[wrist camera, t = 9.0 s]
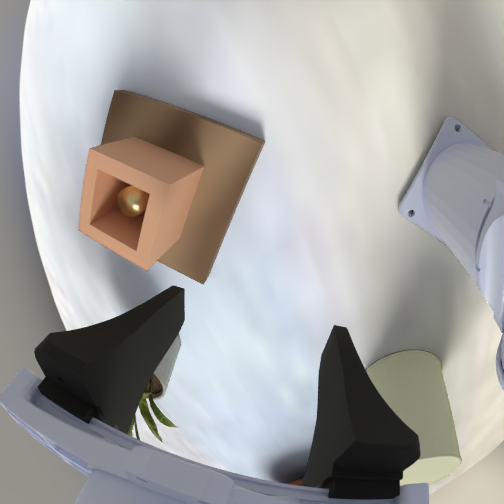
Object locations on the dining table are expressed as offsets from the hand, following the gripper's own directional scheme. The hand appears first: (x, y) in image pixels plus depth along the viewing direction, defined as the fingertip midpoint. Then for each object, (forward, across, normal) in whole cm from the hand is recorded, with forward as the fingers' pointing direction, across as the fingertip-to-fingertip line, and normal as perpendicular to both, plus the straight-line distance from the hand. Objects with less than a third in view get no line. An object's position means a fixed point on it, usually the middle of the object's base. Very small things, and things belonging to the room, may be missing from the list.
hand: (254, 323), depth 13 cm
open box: (+8, +10, -3) cm, 13 cm away
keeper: (+9, +10, -3) cm, 14 cm away
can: (+10, -15, +12) cm, 22 cm away
